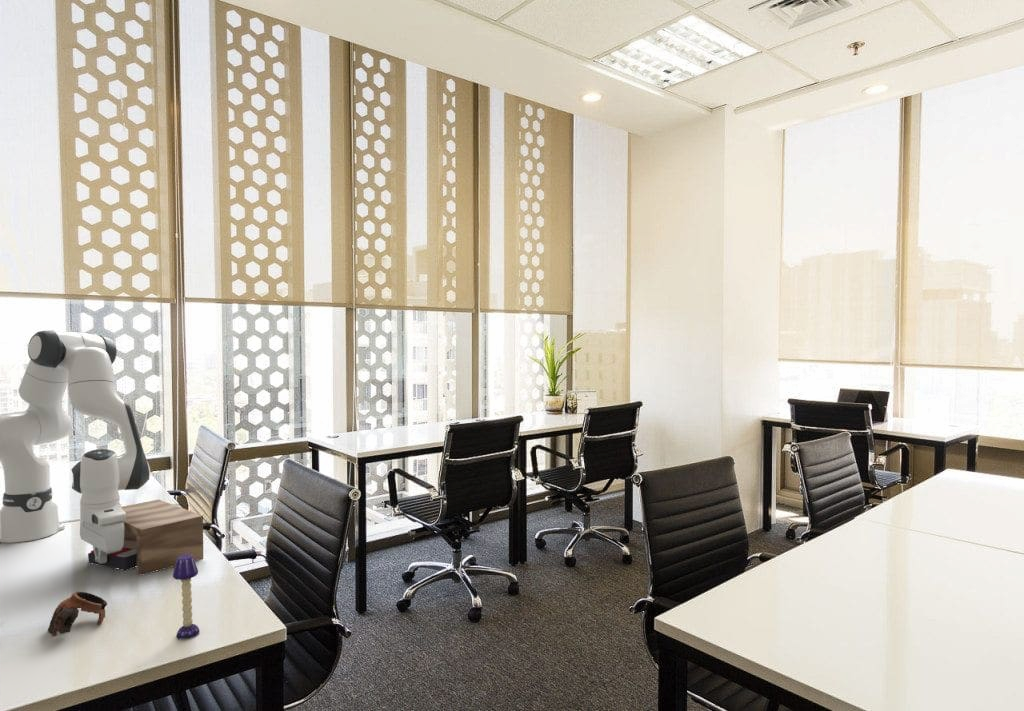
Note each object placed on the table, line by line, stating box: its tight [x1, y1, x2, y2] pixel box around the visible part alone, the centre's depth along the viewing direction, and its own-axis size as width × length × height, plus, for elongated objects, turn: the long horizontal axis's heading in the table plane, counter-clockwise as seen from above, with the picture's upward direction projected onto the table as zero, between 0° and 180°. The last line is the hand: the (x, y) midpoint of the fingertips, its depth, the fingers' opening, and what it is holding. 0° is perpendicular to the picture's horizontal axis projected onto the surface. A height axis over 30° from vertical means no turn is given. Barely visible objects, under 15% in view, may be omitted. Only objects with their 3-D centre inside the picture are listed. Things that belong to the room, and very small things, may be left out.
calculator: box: [87, 540, 137, 571], centre depth 171 cm, size 11×4×15 cm
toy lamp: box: [172, 554, 201, 640], centre depth 128 cm, size 5×5×17 cm
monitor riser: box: [121, 499, 204, 576], centre depth 174 cm, size 28×16×12 cm, turn 53°
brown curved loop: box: [47, 591, 108, 637], centre depth 130 cm, size 12×10×8 cm
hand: (101, 562), depth 164 cm, fingers closed
